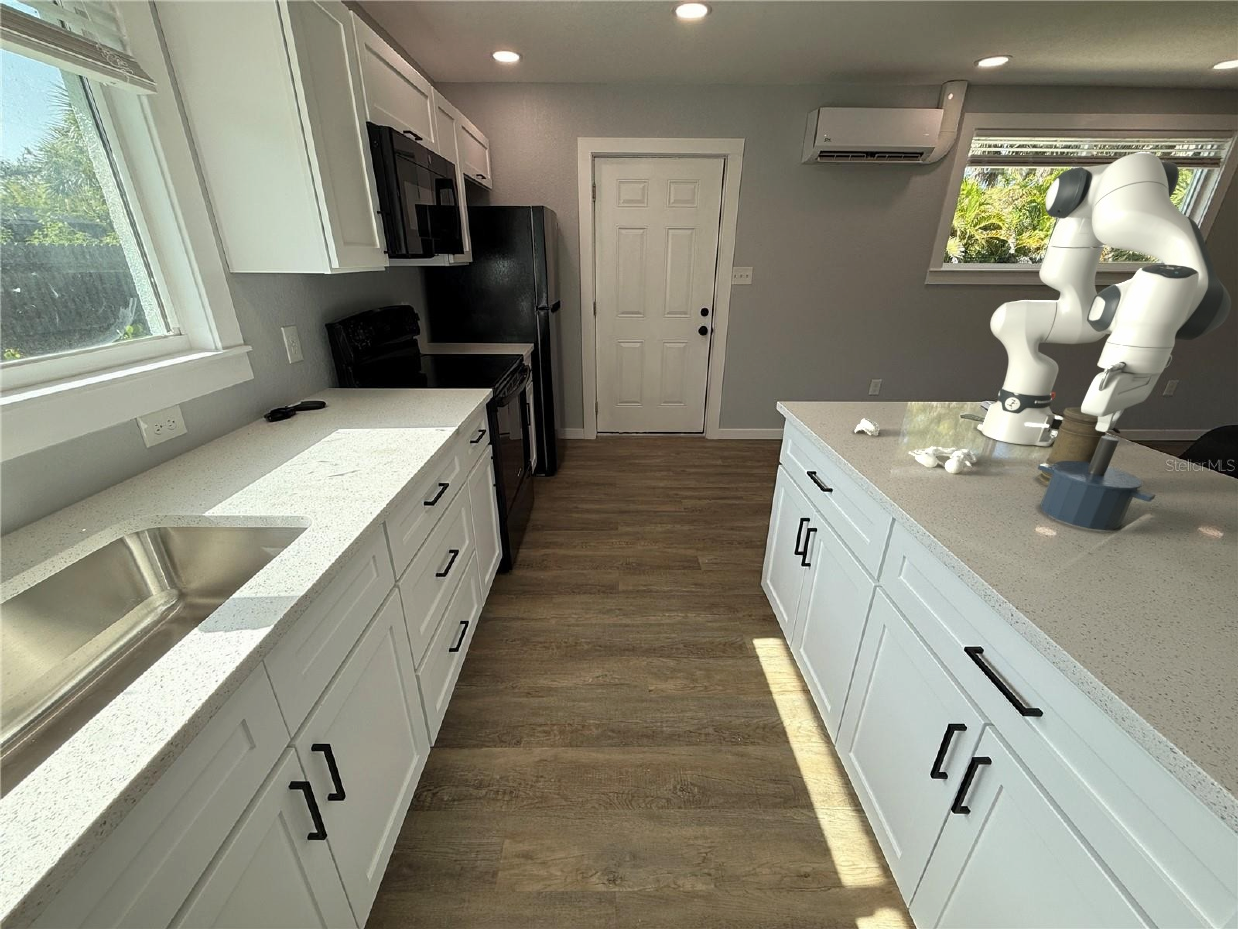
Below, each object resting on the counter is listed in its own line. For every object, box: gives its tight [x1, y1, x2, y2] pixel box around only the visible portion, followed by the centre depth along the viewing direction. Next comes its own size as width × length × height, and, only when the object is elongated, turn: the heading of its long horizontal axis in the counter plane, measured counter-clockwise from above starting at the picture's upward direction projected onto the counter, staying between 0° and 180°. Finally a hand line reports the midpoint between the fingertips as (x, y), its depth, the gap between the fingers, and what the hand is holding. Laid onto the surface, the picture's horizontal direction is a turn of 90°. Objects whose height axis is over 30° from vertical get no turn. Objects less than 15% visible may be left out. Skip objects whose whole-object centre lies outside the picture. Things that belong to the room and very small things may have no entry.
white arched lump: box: [854, 417, 880, 436], centre depth 151 cm, size 8×7×5 cm
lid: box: [1052, 435, 1143, 490], centre depth 97 cm, size 13×13×9 cm
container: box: [1037, 407, 1107, 485], centre depth 113 cm, size 9×9×18 cm
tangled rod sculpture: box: [908, 445, 977, 475], centre depth 129 cm, size 19×14×4 cm
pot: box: [1037, 462, 1156, 531], centre depth 100 cm, size 12×18×10 cm
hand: (1103, 429), depth 96 cm, fingers closed
